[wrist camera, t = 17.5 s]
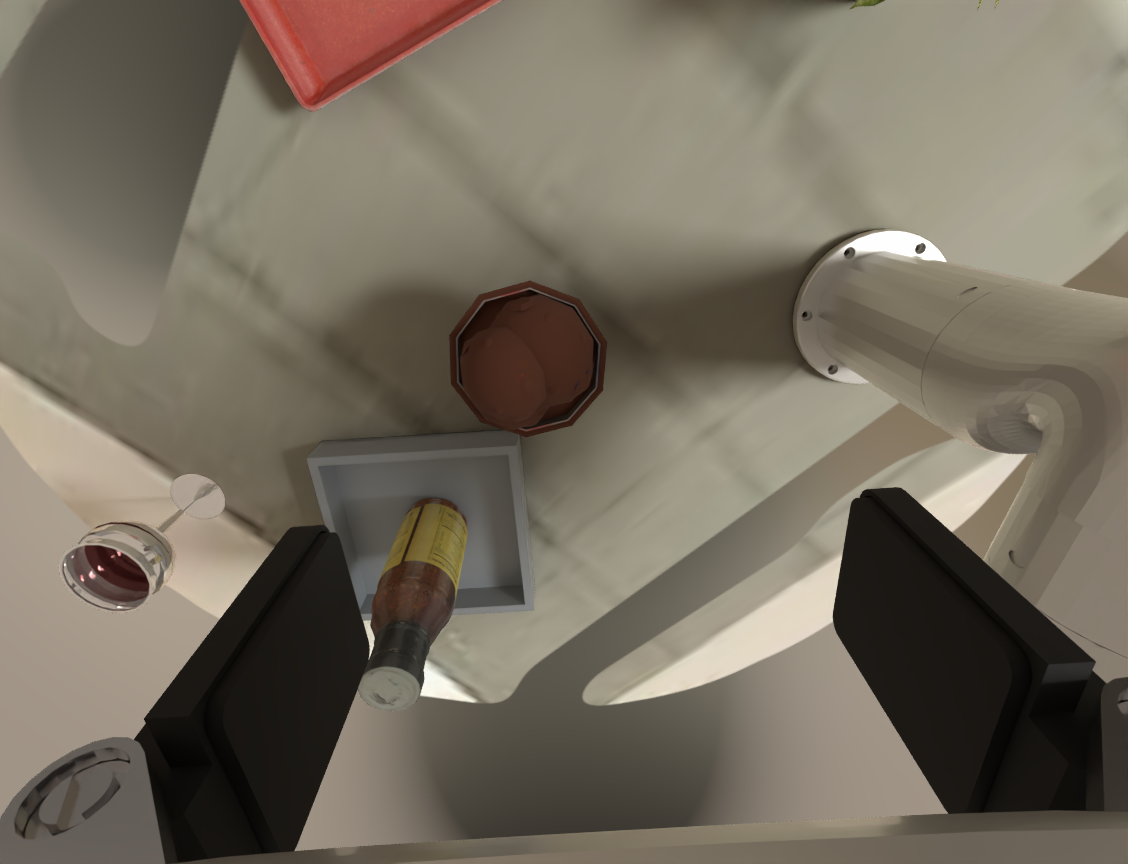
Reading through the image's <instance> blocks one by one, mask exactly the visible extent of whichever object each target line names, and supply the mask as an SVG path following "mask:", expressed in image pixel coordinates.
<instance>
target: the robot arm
mask: <svg viewBox="0 0 1128 864" xmlns="http://www.w3.org/2000/svg"><path fill="white" fill-rule="evenodd" d="M915 247H916V249H915ZM846 249H847V253H846V254H845V255H844V252H845V250H846ZM804 312H805V315H804V316H802V314H803V313H804ZM793 333H794V337H795V341H796V344H797V346H798V348H799V350H800V352H801V354H802V356H803V357H804V359H805V360H806V361H807V362H808V363H809V365H810V366H812V367H813V368H814V369H815V370H817V371H818V372H819V373H821V374H822V375H824V376H825V377H827V378H829V379H832V380H835V381H838V382H841V383H848V384H869V383H872V384H873V385H875V386H876V387H878V388H879V389H881V390H882V391H884V392H885V393H887V394H889V395H890V396H892V397H893V398H895V399H896V400H898V401H899V402H901V403H902V404H904V405H906V406H907V407H909V408H910V409H912V410H913V411H915V412H916V413H918V414H919V415H921V416H922V417H924V418H926V419H927V420H929V421H930V422H932V423H933V424H935V425H936V426H938V427H940V428H942V429H943V430H945V431H946V432H948V433H949V434H951V435H952V436H954V437H955V438H957V439H959V440H961V441H963V442H965V443H967V444H969V445H971V446H974V447H977V448H980V449H983V450H987V451H992V452H998V453H1006V454H1036V456H1035V459H1034V460H1033V463H1032V464H1031V466H1030V468H1029V470H1028V472H1027V474H1026V476H1025V481H1024V483H1023V485H1022V487H1021V489H1020V491H1019V492H1018V494H1017V496H1016V498H1015V500H1014V502H1013V504H1012V505H1011V507H1010V509H1009V511H1008V513H1007V515H1006V517H1005V519H1004V521H1003V522H1002V524H1001V526H1000V528H999V530H998V532H997V534H996V536H995V538H994V540H993V541H992V543H991V545H990V548H989V550H988V552H987V554H986V555H985V557H984V559H983V560H982V559H981V558H980V557H979V556H978V555H976V554H975V553H974V552H973V551H972V550H971V549H970V548H969V547H967V546H966V545H965V544H964V543H963V542H962V541H961V540H959V538H957V537H956V536H955V535H954V534H953V533H952V532H951V531H950V530H948V529H947V528H946V527H945V526H944V525H943V524H942V523H941V522H940V521H938V520H937V519H936V518H935V517H934V516H933V515H932V514H931V513H929V512H928V511H927V510H926V509H925V508H924V507H923V506H922V505H921V504H919V503H918V502H917V501H916V500H915V499H914V498H913V497H912V496H910V495H909V494H908V493H907V492H906V491H905V490H903V489H902V488H897V487H894V488H879V489H866V490H864V491H863V492H862V494H861V495H860V498H855V499H854V500H853V501H852V503H851V507H850V513H849V519H848V525H847V531H846V537H845V543H844V549H843V555H842V561H841V567H840V573H839V579H838V586H837V592H836V598H835V604H834V610H833V623H834V627H835V630H836V633H837V635H838V636H839V638H840V639H841V641H842V643H843V644H844V646H845V648H846V649H847V651H848V653H849V654H850V656H851V657H852V659H853V661H854V662H855V664H856V666H857V667H858V669H859V670H860V672H861V674H862V675H863V677H864V678H865V680H866V682H867V683H868V685H869V687H870V688H871V690H872V691H873V693H874V695H875V696H876V698H877V700H878V701H879V703H880V705H881V706H882V708H883V709H884V711H885V712H886V714H887V716H888V717H889V719H890V721H891V722H892V724H893V726H894V727H895V729H896V730H897V732H898V733H899V735H900V737H901V738H902V740H903V742H904V743H905V745H906V747H907V748H908V750H909V751H910V753H911V755H912V756H913V758H914V760H915V761H916V763H917V764H918V766H919V768H920V769H921V771H922V773H923V774H924V776H925V777H926V779H927V781H928V782H929V784H930V786H931V787H932V789H933V790H934V792H935V794H936V795H937V797H938V798H939V800H940V802H941V803H942V805H943V806H944V808H945V809H946V811H947V812H948V814H932V815H910V816H891V817H871V818H851V819H831V820H811V821H791V822H771V823H751V824H734V825H714V826H697V827H680V828H679V827H678V828H662V829H643V830H624V831H606V832H590V833H572V834H555V835H536V836H520V837H503V838H488V839H471V840H455V841H441V842H440V841H439V842H423V843H406V844H391V845H374V846H358V847H342V848H330V849H318V850H304V851H294V850H295V848H296V846H297V844H298V841H299V839H300V836H301V834H302V831H303V828H304V826H305V823H306V821H307V818H308V816H309V813H310V810H311V808H312V805H313V803H314V800H315V797H316V795H317V792H318V790H319V787H320V785H321V782H322V779H323V777H324V774H325V772H326V769H327V767H328V764H329V762H330V759H331V756H332V754H333V751H334V749H335V746H336V743H337V741H338V738H339V736H340V733H341V731H342V728H343V725H344V723H345V720H346V718H347V715H348V713H349V710H350V707H351V705H352V702H353V700H354V697H355V695H356V692H357V689H358V687H359V684H360V682H361V679H362V677H363V674H364V671H365V669H366V666H367V663H368V660H369V651H370V649H369V641H368V638H367V634H366V630H365V627H364V623H363V620H362V616H361V613H360V609H359V605H358V602H357V598H356V595H355V591H354V588H353V584H352V580H351V577H350V573H349V570H348V566H347V563H346V559H345V555H344V552H343V548H342V545H341V541H340V538H339V536H338V534H337V533H335V532H330V531H329V529H328V528H327V527H326V526H324V525H316V526H301V527H292V528H290V529H289V530H288V531H287V532H286V533H285V535H284V536H283V537H282V538H281V540H280V541H279V542H278V544H277V545H276V546H275V548H274V549H273V550H272V552H271V553H270V554H269V556H268V557H267V558H266V559H265V561H264V562H263V563H262V565H261V566H260V567H259V569H258V570H257V571H256V573H255V574H254V575H253V576H252V578H251V579H250V580H249V582H248V583H247V584H246V586H245V587H244V588H243V590H242V591H241V592H240V594H239V595H238V596H237V597H236V599H235V600H234V601H233V603H232V604H231V605H230V607H229V608H228V609H227V611H226V612H225V613H224V615H223V616H222V617H221V618H220V620H219V621H218V622H217V624H216V625H215V626H214V628H213V629H212V630H211V632H210V633H209V634H208V635H207V637H206V638H205V639H204V641H203V642H202V643H201V645H200V646H199V647H198V649H197V650H196V651H195V653H194V654H193V655H192V656H191V658H190V659H189V660H188V662H187V663H186V664H185V666H184V667H183V668H182V670H181V671H180V672H179V673H178V675H177V676H176V677H175V679H174V680H173V681H172V683H171V684H170V685H169V687H168V688H167V689H166V691H165V692H164V693H163V694H162V696H161V697H160V698H159V700H158V701H157V702H156V704H155V705H154V706H153V708H152V709H151V710H150V711H149V713H148V714H147V715H146V717H145V718H144V720H145V722H146V724H145V725H144V727H143V728H142V729H141V731H140V732H139V733H138V735H137V736H136V737H135V739H134V740H132V739H130V738H127V737H126V738H125V737H112V738H107V739H103V740H99V741H95V742H92V743H90V744H87V745H85V746H83V747H81V748H78V749H75V750H74V751H71V752H70V753H68V754H66V755H65V756H63V757H61V758H60V759H58V760H56V761H55V762H53V763H51V764H50V765H49V766H47V767H46V768H45V769H44V770H42V771H41V772H40V773H39V774H37V775H36V776H35V777H34V778H32V779H31V780H30V781H29V782H28V783H27V784H26V785H25V786H24V787H23V788H22V789H21V791H19V792H18V793H17V795H16V796H15V797H14V798H13V799H12V801H11V802H10V804H9V805H8V807H7V808H6V810H5V812H4V813H3V814H2V816H1V819H0V864H1128V298H1123V297H1117V296H1110V295H1104V294H1099V293H1092V292H1087V291H1081V290H1076V289H1071V288H1067V287H1062V286H1057V285H1052V284H1047V283H1043V282H1038V281H1033V280H1028V279H1024V278H1019V277H1014V276H1010V275H1005V274H1000V273H996V272H991V271H986V270H982V269H977V268H972V267H968V266H963V265H958V264H954V263H949V262H947V260H946V259H945V257H944V256H943V254H942V253H941V251H940V250H939V249H938V248H937V247H936V246H935V245H934V244H933V243H932V242H930V241H929V240H927V239H925V238H924V237H922V236H920V235H918V234H915V233H911V232H907V231H903V230H895V229H881V230H872V231H868V232H865V233H861V234H858V235H856V236H853V237H851V238H849V239H847V240H845V241H843V242H842V243H840V244H839V245H837V246H836V247H834V248H833V249H831V250H830V251H829V252H828V253H827V254H825V255H824V256H823V257H822V258H821V259H820V260H819V261H818V262H817V263H816V265H815V266H814V267H813V269H812V270H811V271H810V272H809V274H808V275H807V277H806V279H805V281H804V282H803V284H802V286H801V288H800V290H799V293H798V296H797V299H796V302H795V307H794V313H793ZM830 366H831V367H830ZM829 367H830V368H829ZM828 368H829V369H828Z"/></svg>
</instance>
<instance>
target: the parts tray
mask: <svg viewBox="0 0 1128 864" xmlns="http://www.w3.org/2000/svg"><path fill="white" fill-rule="evenodd" d="M306 460H307V463H308V467H309V470H310V474H311V478H312V481H313V485H314V488H315V492H316V495H317V499H318V503H319V506H320V510H321V513H322V517H323V520H324V524H325V526H326V527H327V528H328V529H329V531H330V532H335V533H337V534H338V536H339V538H340V541H341V545H342V548H343V552H344V555H345V559H346V563H347V566H348V570H349V573H350V577H351V580H352V584H353V588H354V591H355V595H356V598H357V602H358V605H359V609H360V613H361V616H362V620H371V618H372V613H371V609H372V602H373V599H374V596H375V594H376V591H377V586H378V582H379V580H380V577H381V574H382V572H383V569H384V567H385V564H386V562H387V559H388V556H389V554H390V551H391V549H392V546H393V543H394V541H395V538H396V536H397V533H398V530H399V528H400V525H401V523H402V520H403V518H404V517H405V516H406V513H407V512H408V511H409V510H410V509H411V508H412V507H413V505H414V504H416V503H417V502H419V501H421V500H423V499H427V498H429V499H431V498H438V499H445V500H449V501H451V502H452V503H453V504H454V505H456V506H457V507H458V508H459V509H460V510H461V511H462V513H463V514H464V516H465V517H466V520H467V532H468V536H467V542H466V547H465V552H464V557H463V562H462V567H461V573H460V578H459V583H458V589H457V594H456V600H455V605H454V609H453V613H452V615H466V614H483V613H500V612H517V611H534V599H535V581H534V571H533V562H532V552H531V542H530V532H529V522H528V513H527V503H526V493H525V483H524V473H523V464H522V454H521V444H520V435H518V434H515V433H512V432H509V431H506V430H492V431H476V432H459V433H443V434H427V435H410V436H394V437H378V438H361V439H345V440H329V441H321V442H320V443H319V444H318V446H317V447H316V448H315V449H314V450H313V451H312V452H311V454H310V455H309V456H308V457H307V458H306Z"/></svg>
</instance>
